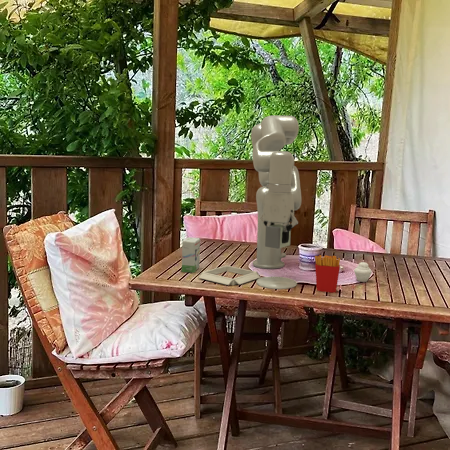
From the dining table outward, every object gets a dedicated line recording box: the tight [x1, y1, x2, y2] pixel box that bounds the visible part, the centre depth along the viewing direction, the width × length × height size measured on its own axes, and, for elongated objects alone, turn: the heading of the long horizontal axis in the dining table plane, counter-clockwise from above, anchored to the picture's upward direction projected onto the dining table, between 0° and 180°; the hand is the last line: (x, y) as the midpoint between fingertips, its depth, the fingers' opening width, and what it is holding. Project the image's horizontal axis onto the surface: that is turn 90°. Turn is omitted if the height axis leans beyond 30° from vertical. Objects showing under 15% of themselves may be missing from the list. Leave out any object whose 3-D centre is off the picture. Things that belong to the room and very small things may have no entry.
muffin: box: [353, 261, 373, 283], centre depth 191 cm, size 6×6×7 cm
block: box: [265, 224, 292, 249], centre depth 183 cm, size 8×5×7 cm, turn 141°
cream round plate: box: [256, 276, 298, 290], centre depth 186 cm, size 14×14×1 cm
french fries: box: [314, 254, 341, 293], centre depth 177 cm, size 8×4×12 cm, turn 73°
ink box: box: [181, 236, 201, 273], centre depth 202 cm, size 9×5×12 cm, turn 168°
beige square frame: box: [197, 264, 261, 286], centre depth 192 cm, size 18×18×2 cm
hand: (278, 241), depth 183 cm, fingers closed on block, 5 cm apart
